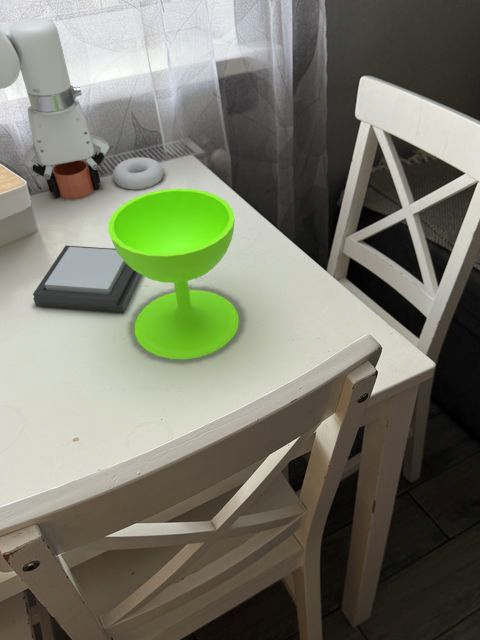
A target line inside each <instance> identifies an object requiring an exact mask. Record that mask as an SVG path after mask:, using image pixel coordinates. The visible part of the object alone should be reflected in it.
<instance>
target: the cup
mask: <svg viewBox="0 0 480 640" xmlns="http://www.w3.org/2000/svg"><path fill="white" fill-rule="evenodd" d="M52 174H53V177H54V180H55V184H56V187H57V191H58V194H59V197H60V198H62V199H66V200H79V199H82V198H86V197H87V196H89V195H90V194H92V193H93V191H94V190H95V188H94V186H93V181H92V177H91V173H90V169H89V164H88V163H87V162H86V161H85V160H84V159H83V160H79V161H74V162H68V163H63V164H58V165H53V169H52Z"/></svg>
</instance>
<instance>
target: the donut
mask: <svg viewBox="0 0 480 640" xmlns="http://www.w3.org/2000/svg"><path fill="white" fill-rule="evenodd" d="M163 176H164V169H163V166H162V165H161V163H159V161H157V160H155V159H153V158H150V157H140V156H139V157H131V158H128V159H125V160H123V161H120V162H119V163H118V164H117V165H116V166H115V167H114V169H113V171H112V177H113V181H114V182H115V183H116V185H117V186H119V188H120V187H121V188H122V189H125V190H129V191H130V190H133V191H134V190H135V191H136V190H137V191H138V190H146V189H149V188H153V187H154V186H156V185H158V184H159V183H160V182H161V181H162V180H163Z"/></svg>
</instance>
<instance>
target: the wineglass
mask: <svg viewBox="0 0 480 640" xmlns="http://www.w3.org/2000/svg"><path fill="white" fill-rule="evenodd" d="M235 218H236V216H235V213H234V209H233V208H232V206H231V205H230V203H228V201H226V200H225V199H223V198H221V197H220V196H219V195H216V194H214V193H211V192H208V191H205V190H200V189H193V188H169V189H159V190H156V191H155V190H154V191H152V192H147V193H144V194H141V195H138V196H136V197H134V198H132V199H129V200H128V201H127V202H125V203H123V204H122V205H120V206H119V207H118V208H117V209H116V210H115V211H114V212H113V213H112V215H111V217H110V218H109V221H108V227H107V232H108V234H109V236H110V239H111V242H112V244H113V247H114V249H116V251H117V253H118V254H119V255H120V256H121V258H122V259H123V260H124V261H125V262H126V264H127V265H129V266H130V267H131V268H132V269H133V270H135V271H136V272H138V273H140V274H141V275H142V276H143V277H145V278H147V279H149V280H151V281H155V282H160V283H169V284H173V285H174V291H173V292H170V293H167V294H163V295H161V296H159V297H157V298H156V299H154V300H152V301H151V302H149V303H148V304H147V305H145V306H144V307H143V308H142V310H141V311H140V313H138V315H137V318H136V319H135V321H134V336H135V338H136V340H137V343H138V344H139V345H141V347H143V349H145V351H147V352H149V353H151V354H153V355H154V356H157V357H161V358H165V359H170V360H189V359H197V358H200V357H204V356H207V355H210V354H213V353H215V352H216V351H218V350H220V349H221V348H223V347H225V346H226V345H227V344H228V343H229V342H230V341H231V340H232V339H233V337H234V336H235V335H236V333H237V331H238V328H239V324H240V318H239V314H238V311H237V308H235V306H234V304H233V303H231V302H230V301H229V300H228V299H226V298H225V297H224V296H222V295H219V294H217V293H214V292H211V291H206V290H202V289H201V290H198V289H190V287H189V281H192V280H196V279H198V278H200V277H202V276H204V275H206V274H208V273H209V272H210V271H212V270H213V269H214V268H216V266H217V265H218V264H219V263H220V262H221V261H222V259H223V258H224V256H225V255H226V254H227V251H228V249H229V247H230V244H231V242H232V240H233V237H234V236H233V235H234V231H235V230H234V229H235Z"/></svg>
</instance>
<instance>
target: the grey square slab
mask: <svg viewBox="0 0 480 640" xmlns="http://www.w3.org/2000/svg"><path fill="white" fill-rule="evenodd" d="M125 266H126V262H125V261H124V260H123V259H122V258H121V256H120V255H119V254H118V253H117V251H116V250H111V249H95V248H80V247H69V248H68V250H67V251H66V253H65V254H64V256H63V257H62V259H61V260H60V262H59V263H58V265H57V266H56V268H55V269H54V271H53V272H52V274H51V275H50V277H49V278H48V280H47V281H46V283H45V287H46V290H52V291H66V292H79V293H93V294H106V295H111V293H112V291H113V289H114V287H115V285H116V283H117V281H118V279H119V277H120V276H121V274H122V272H123V270H124V268H125Z"/></svg>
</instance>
